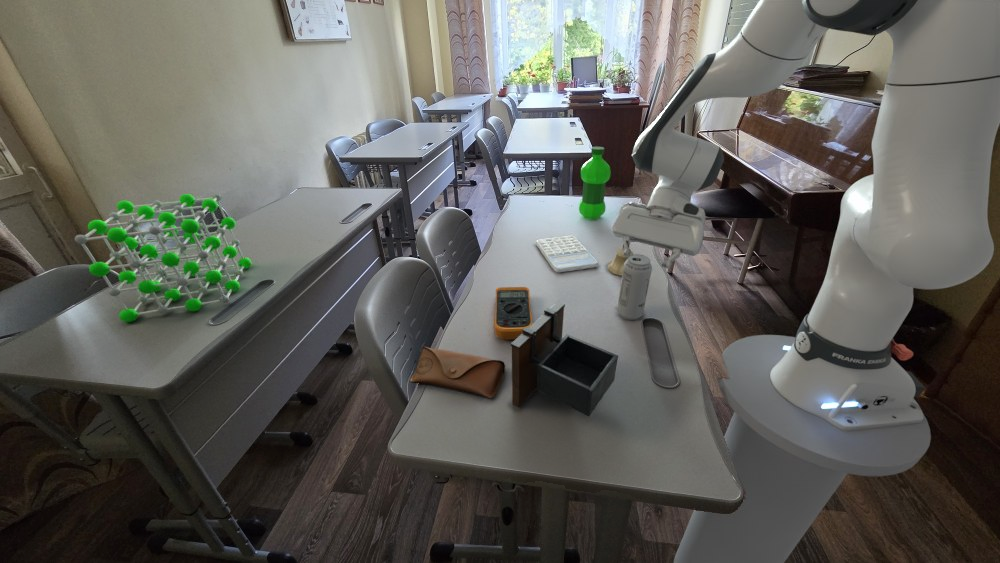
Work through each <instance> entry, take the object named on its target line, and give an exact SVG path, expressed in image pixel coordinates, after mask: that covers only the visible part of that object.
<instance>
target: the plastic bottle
mask: <svg viewBox="0 0 1000 563" xmlns="http://www.w3.org/2000/svg"><path fill="white" fill-rule="evenodd" d="M590 151H591V152H590V153H591V155H592V156H591V158H590V159H588V160H587V161H586V162H584V163H583V164H582V166H581V168H580V178H581V180H582V181H583V185H582V186H583V187H582V196H581V197H582V198H581V200H580V202H579V203H578V211H579V213H580V215H581V216H582V217H583V218H584V219H586V220H590V221H594V220H597V219H599V218H600V217H602V216H603V215H604V214H605V212H606V203H605V193H606V183H607V182H608V181H609V180H610V178H611V175H612V174H611V173H612V171H611V167H610V164H608V162H607V161H606V160H604V158H603V155H604V154H605V147H603V146H592V147H591V150H590Z"/></svg>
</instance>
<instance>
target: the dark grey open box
mask: <svg viewBox="0 0 1000 563" xmlns="http://www.w3.org/2000/svg"><path fill="white" fill-rule="evenodd" d="M544 313H547V314H549V315H552V316H553V317H552V331H551V342H557V343H558V344H557V345H556V346H555V347H554V348H553V349H552V350H551V351H550V352H549V353H548V355H547V356H546V357H545V358H544V359H543V360H542V359H540V358H538V357H535V347H536V334H535V331H533V330H531V329H529V328H527V327H525V328H524V329H523V330H522V332H523V333H526V334H528V335H530V336H531V359H530V363H533V362H534V363H536V364H538V366H537V389H536V391H539V392H540V393H542V394H544V395H545V396H548V397H550V398H552V399H553V400H555V401H557V402H559V403H561V404H563V405H564V406H567V407H569V408H571V409H572V410H574V411H576V412H578V413H580V414H581V415H584V416H586V417H588V418H589V417H590V416H591V414H593V412H594V410H595V409H596V407H597V406H598V405H599V403H600V402H601V400H602V399H603V397H604V396H605V394H606V393H607V391H608V390H609V389H610V387H611V386H612V384H613V383H614V382H615V378H616V371H617V366H618V361H619V360H618V359H619V355H617V354H615V353H613V352H611V351H608V350H606V349H604V348H601V347H599V346H596V345H594V344H592V343H589V342H587V341H584V340H582V339H579V338H577V337H576V336H575V337H574V336H572V335H570V334H567V333H566V334H565V335H564V337H562V338H559V337H557V336H556V318H557V314H556V311H554V310H551V309H550V307H549V308H548V307H546V308H545V309H544V310H543V314H544Z"/></svg>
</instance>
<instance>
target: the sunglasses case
mask: <svg viewBox="0 0 1000 563" xmlns="http://www.w3.org/2000/svg"><path fill="white" fill-rule="evenodd" d="M505 373H506V363H505V362H504V361H503V360H500V359H492V358H488V357H484V356H480V355H473V354H468V353H463V352H457V351H452V350H446V349H439V348H432V347H428V346H423V347H422V350H421V352H420V356H419V359H418V362H417V364H416V368H415V369H414V372H413V374H412V376H411V377H410V379H409V383H411V384H418V385H419V384H420V385H427V386H433V387H438V388H442V389H447V390H452V391H456V392H461V393H464V394H470V395H474V396H478V397H482V398H486V399H493V398H494V397H495V396H496V394H497V393H498V390H499V388H500V386H501V384H502V381H503V379H504V377H505Z"/></svg>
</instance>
